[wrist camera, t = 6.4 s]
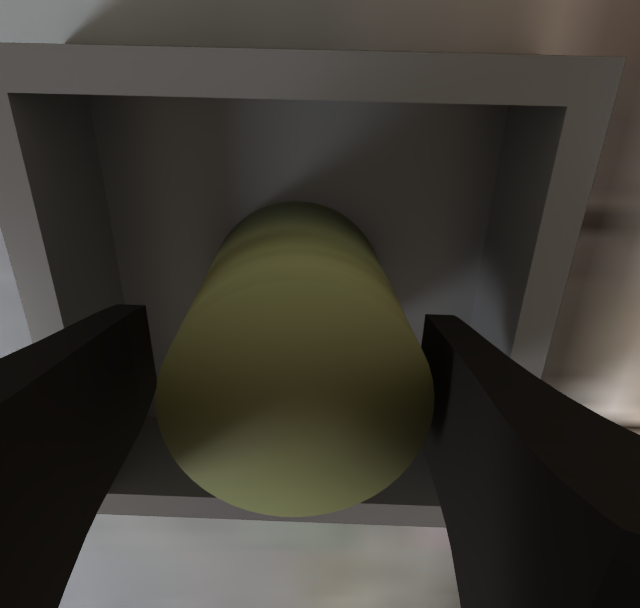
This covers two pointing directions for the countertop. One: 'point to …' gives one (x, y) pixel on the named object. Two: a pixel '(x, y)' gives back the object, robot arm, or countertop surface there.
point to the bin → (295, 197)
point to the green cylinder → (295, 370)
